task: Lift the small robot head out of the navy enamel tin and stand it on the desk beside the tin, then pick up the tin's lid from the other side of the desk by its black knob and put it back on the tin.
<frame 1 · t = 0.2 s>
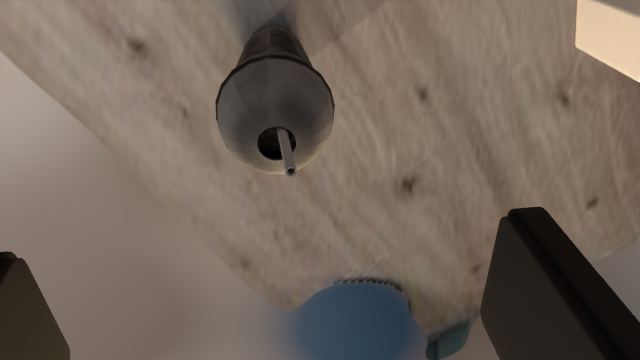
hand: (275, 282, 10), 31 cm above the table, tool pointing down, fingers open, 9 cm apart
jar: (620, 6, 39), on the table
beverage cup: (273, 52, 39), on the table
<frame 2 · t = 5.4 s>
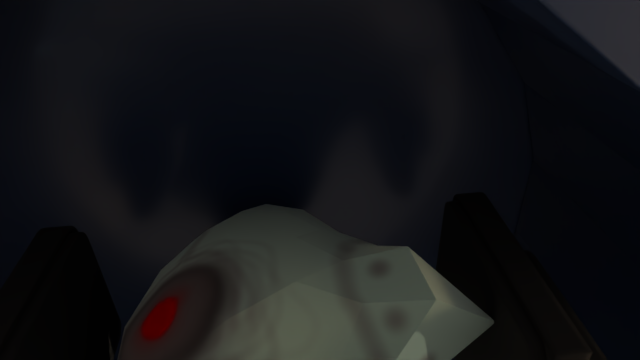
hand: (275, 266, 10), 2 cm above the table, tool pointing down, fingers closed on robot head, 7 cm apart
tin: (258, 212, 12), on the table
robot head: (257, 215, 12), resting on tin, touching gripper
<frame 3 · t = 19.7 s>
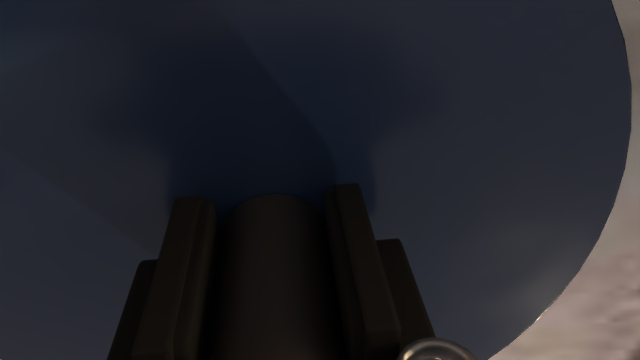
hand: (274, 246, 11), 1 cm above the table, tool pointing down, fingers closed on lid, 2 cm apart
lid: (274, 222, 11), point 1 cm above the table, touching gripper
when the fingers open (6 cm above the table, at t = 27.2 s): lid stays where it is, resting on tin.
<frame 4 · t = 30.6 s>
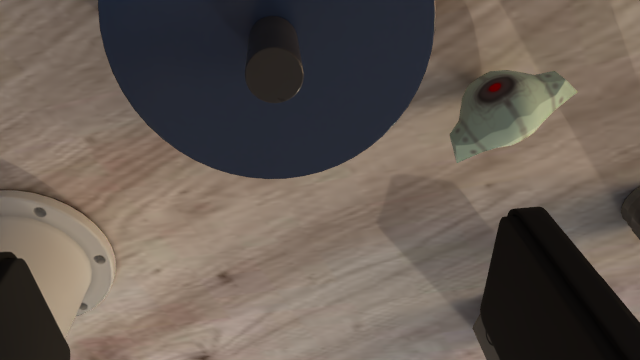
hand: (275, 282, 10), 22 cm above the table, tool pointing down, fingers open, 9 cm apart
lid: (273, 37, 24), point 5 cm above the table, touching tin
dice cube: (504, 310, 45), on the table
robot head: (476, 82, 32), on the table
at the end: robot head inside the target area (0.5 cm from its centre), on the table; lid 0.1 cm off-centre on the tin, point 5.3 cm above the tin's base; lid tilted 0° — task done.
